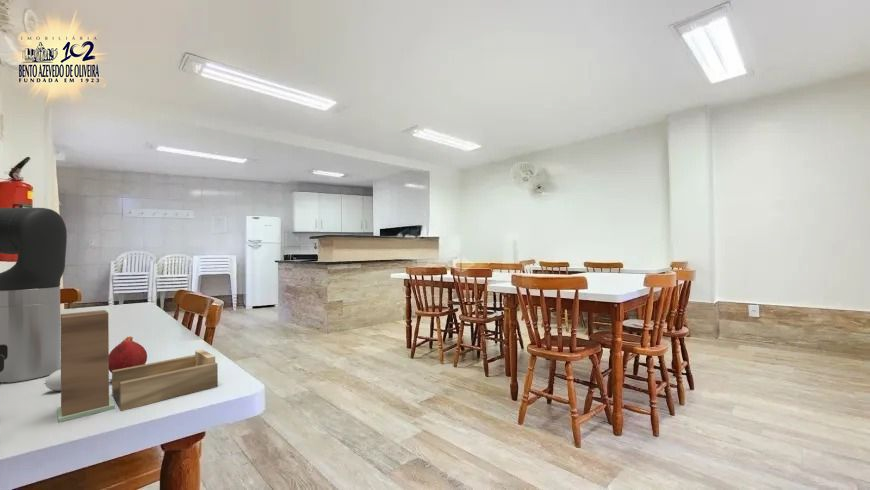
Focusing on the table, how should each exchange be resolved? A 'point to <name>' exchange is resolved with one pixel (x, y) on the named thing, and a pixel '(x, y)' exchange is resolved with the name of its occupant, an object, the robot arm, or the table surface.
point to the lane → (164, 380)
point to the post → (84, 361)
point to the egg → (54, 381)
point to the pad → (68, 417)
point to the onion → (127, 355)
